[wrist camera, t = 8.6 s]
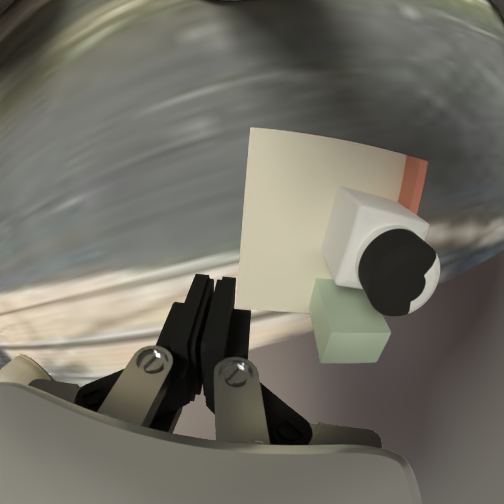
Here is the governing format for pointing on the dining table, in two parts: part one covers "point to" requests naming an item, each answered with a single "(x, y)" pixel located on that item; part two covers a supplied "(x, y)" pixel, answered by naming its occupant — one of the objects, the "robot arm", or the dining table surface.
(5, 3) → the ceramic pot
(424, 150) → the dining table surface
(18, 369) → the jug
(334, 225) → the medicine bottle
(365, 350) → the tea box
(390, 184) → the cream flat block
